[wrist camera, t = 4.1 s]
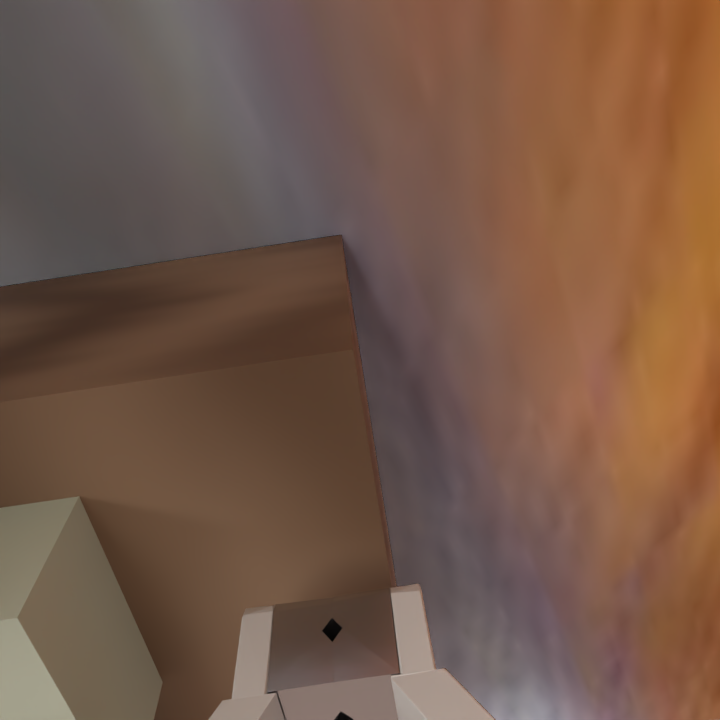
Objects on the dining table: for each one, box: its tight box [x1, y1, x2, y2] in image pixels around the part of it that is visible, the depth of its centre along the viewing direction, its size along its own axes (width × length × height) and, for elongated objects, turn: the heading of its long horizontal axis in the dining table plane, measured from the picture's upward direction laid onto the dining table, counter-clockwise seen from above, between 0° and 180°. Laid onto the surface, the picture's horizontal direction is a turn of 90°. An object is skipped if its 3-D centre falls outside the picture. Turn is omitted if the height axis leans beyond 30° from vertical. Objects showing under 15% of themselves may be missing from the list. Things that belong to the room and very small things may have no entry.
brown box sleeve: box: [0, 235, 397, 720], centre depth 16 cm, size 13×15×6 cm
